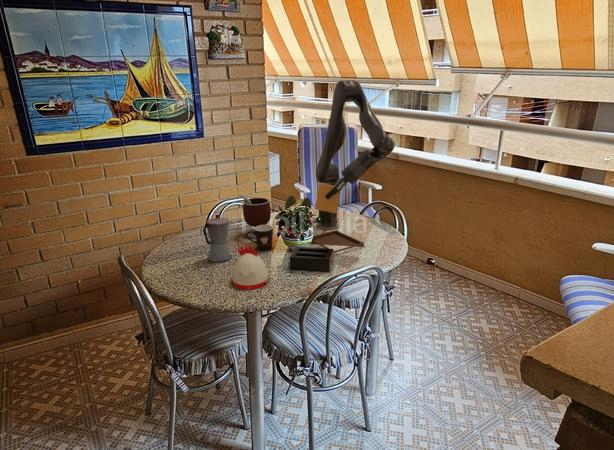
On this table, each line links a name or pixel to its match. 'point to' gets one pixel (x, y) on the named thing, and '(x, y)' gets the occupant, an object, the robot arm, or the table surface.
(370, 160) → the robot arm
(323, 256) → the low dark brown box
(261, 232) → the coffee mug
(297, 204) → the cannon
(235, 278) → the kitchen timer
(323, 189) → the toast
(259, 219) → the mate gourd
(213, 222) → the moka pot
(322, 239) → the tray
